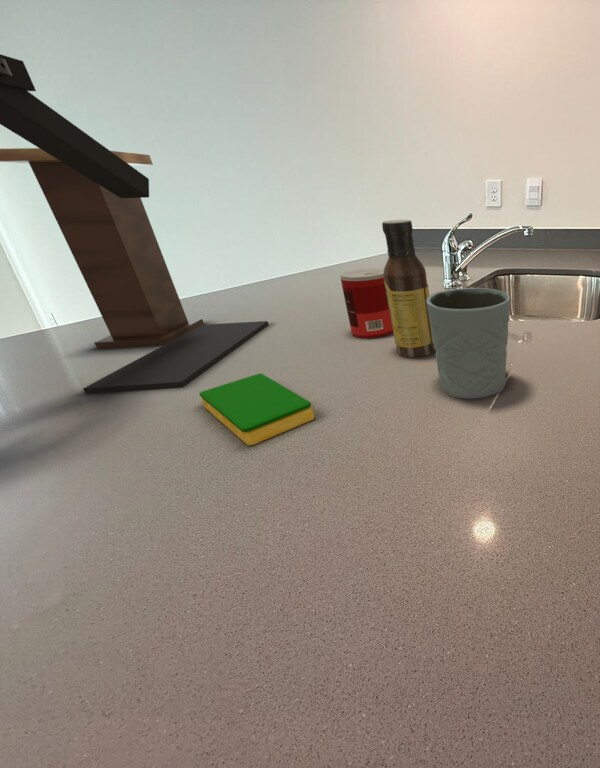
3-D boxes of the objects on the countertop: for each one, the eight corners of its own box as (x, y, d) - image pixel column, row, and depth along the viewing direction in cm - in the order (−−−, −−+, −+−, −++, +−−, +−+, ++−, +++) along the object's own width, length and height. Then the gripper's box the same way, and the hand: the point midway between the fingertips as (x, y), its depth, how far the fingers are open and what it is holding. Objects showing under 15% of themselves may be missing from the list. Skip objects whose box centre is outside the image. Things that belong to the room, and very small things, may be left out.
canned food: (405, 329, 77) (396, 269, 72) (376, 342, 70) (364, 278, 65) (373, 324, 80) (363, 267, 75) (343, 337, 73) (329, 275, 68)
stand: (166, 348, 70) (81, 147, 57) (89, 353, 69) (-15, 148, 55) (210, 324, 82) (149, 154, 69) (146, 327, 81) (72, 156, 68)
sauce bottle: (413, 344, 69) (396, 218, 60) (444, 349, 67) (430, 218, 58) (387, 357, 64) (365, 221, 55) (419, 363, 62) (400, 222, 53)
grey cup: (470, 365, 60) (464, 284, 55) (527, 381, 55) (527, 293, 50) (419, 391, 53) (407, 300, 48) (479, 412, 48) (473, 312, 42)
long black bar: (-55, 61, 38) (-55, 31, 38) (-104, 61, 38) (-103, 30, 38) (149, 197, 62) (149, 178, 62) (121, 198, 61) (120, 179, 62)
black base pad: (184, 389, 55) (180, 381, 54) (87, 396, 54) (82, 388, 53) (269, 326, 80) (267, 320, 79) (204, 330, 79) (202, 324, 78)
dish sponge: (250, 449, 42) (242, 429, 41) (204, 409, 50) (197, 391, 49) (316, 420, 47) (311, 402, 46) (266, 388, 55) (260, 372, 54)
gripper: (-513, 55, 24) (-64, 117, 45) (-185, 57, 26) (102, 116, 47) (-675, -125, 21) (-111, 31, 42) (-288, -110, 23) (70, 33, 44)
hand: (1, 76), depth 44 cm, fingers closed on long black bar, 4 cm apart
